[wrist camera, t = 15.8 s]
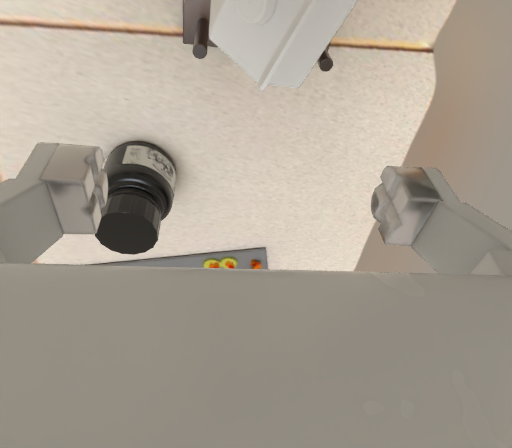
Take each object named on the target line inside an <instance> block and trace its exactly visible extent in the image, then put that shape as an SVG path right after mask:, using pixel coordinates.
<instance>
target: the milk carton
mask: <svg viewBox="0 0 512 448" xmlns="http://www.w3.org/2000/svg"><path fill="white" fill-rule="evenodd" d="M356 2H357V0H211V8H210V23H209V39H210V40H211V41H212V42H213V43H214V44H215V45H217V46H218V47H219V48H220V49H221V50H222V51H223V52H224V53H225V54H226V55H227V56H229V57H230V58H231V59H232V60H233V61H234V62H235V63H236V64H237V65H238V66H240V67H241V68H242V69H243V70H244V71H245V72H246V73H247V74H248V75H249V76H251V77H252V78H253V79H254V80H255V81H256V82H257V83H258V86H259V91H261V92H262V91H263V89H264V88H265V86H266V85H272V86H282V87H292V88H299V87H300V86H301V84H302V83H303V81H304V80H305V78H306V77H307V75H308V74H309V72H310V71H311V69H312V68H313V66H314V65H315V63H316V62H317V60H318V59H319V57H320V56H321V54H322V53H323V51H324V50H325V48H326V47H327V45H328V44H329V42H330V41H331V39H332V38H333V36H334V35H335V33H336V32H337V30H338V29H339V27H340V26H341V24H342V23H343V21H344V20H345V18H346V17H347V15H348V14H349V12H350V11H351V9H352V8H353V6H354V5H355V3H356Z"/></svg>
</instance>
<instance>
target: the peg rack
mask: <svg viewBox="0 0 512 448" xmlns="http://www.w3.org/2000/svg"><path fill="white" fill-rule="evenodd" d="M210 8H211V0H183V43H184V44H193V54H194V56H195V57H196V58H199V59H202V58H204V57H205V56H206V54H207V46H212V47H218V46H217V45H215V44H214V43H213V42H212V41H211V40H210V39H209V23H210ZM329 45H330V42H329V44H328V45H327V47H326V48H325V50H324V51H323V53H322V54H321V56H320V57H319V59H318V60H317V62H318V65H319V67H320V69H321V70H322V71H329V70H330V69H331V68H332V66H333V61H332V59H331V57H330V55H329V53H328V49H329Z"/></svg>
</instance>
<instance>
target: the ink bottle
mask: <svg viewBox="0 0 512 448" xmlns="http://www.w3.org/2000/svg"><path fill="white" fill-rule="evenodd" d="M103 170H104V171H105V172H106V173H107V179H108V196H107V201H106V205H105V206H104V207H103V208H101V209H100V212H101V216H102V217H101V221H100V224H99V227H98V230H97V233H96V234H95V237H97V239H98V240H99V241H100V243H101V244H102V245H104V246H105V247H107V248H109V249H110V250H112V251H116V252H119V253H121V254H138V253H144V252H146V251H148V250H149V249H151V248H153V247H154V245H155V243H156V242H157V241H158V235H159V229H160V223H161V222H160V221H162V220H163V219H164V218H165V217H166V216H167V215H168V214H169V212H170V210H171V208H172V203H173V197H174V191H175V183H176V169H175V166H174V164H173V162H172V161H171V159H170V158H169V157H168V156H167V155H166V154H165V153H164V152H163V151H162V150H160V149H159V148H157V147H155V146H153V145H151V144H148V143H143V142H131V143H127V144H124V145H121V146H119V147H117V148H116V149H115V150H113V151H112V152H111V154H110V155H109V157H108V159H107V161H106V164H105V167H104V169H103Z"/></svg>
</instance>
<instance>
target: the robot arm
mask: <svg viewBox="0 0 512 448" xmlns="http://www.w3.org/2000/svg"><path fill="white" fill-rule="evenodd" d="M103 162H104V158H103V153H102V150H101V148H100V147H96V146H84V145H72V144H59V143H45V142H41V143H38V144H37V145H36V146H35V148H34V149H33V151H32V153H31V154H30V156H29V158H28V159H27V161H26V163H25V164H24V166H23V167H22V169H21V171H20V172H19V174H18V176H17V177H16V179H8V180H6V181H4V182H2V183H0V448H512V231H511V230H509V229H508V228H506V227H504V226H503V225H501V224H499V223H498V222H496V221H495V220H493V219H491V218H490V217H488V216H487V215H485V214H483V213H482V212H480V211H478V210H477V209H475V208H473V207H472V206H470V205H469V204H467V203H462V202H460V200H459V199H458V197H457V196H456V194H455V193H454V191H453V190H452V188H451V187H450V186H449V184H448V182H447V181H446V179H445V178H444V176H443V175H442V173H441V172H440V171H439V170H438V169H436V168H429V167H419V168H418V167H417V168H416V167H398V166H387V167H386V168H385V169H384V170H383V172H382V174H381V176H380V177H381V180H382V184H380V185H379V186H378V187H376V188H375V190H374V193H373V195H372V199H371V211H372V214H373V217H374V218H375V219H376V220H377V221H379V222H380V223H381V224H380V226H379V228H378V229H379V231H380V234H381V236H382V239H383V241H384V243H385V245H401V246H412V249H413V250H414V251H415V252H416V253H418V254H419V255H420V256H421V257H422V258H423V259H424V260H425V261H426V262H427V263H428V264H429V265H430V266H431V267H432V268H433V269H434V270H435V271H436V272H437V273H438V274H426V273H389V272H350V271H311V270H269V269H226V268H187V267H147V266H108V265H68V264H31V263H32V262H33V261H34V260H35V259H37V258H38V257H39V256H40V255H41V254H42V253H44V252H45V251H46V250H47V249H48V248H49V247H50V246H52V245H53V244H54V243H55V242H56V241H57V240H59V239H60V238H61V237H62V236H63V234H96V233H97V230H98V227H99V224H100V221H101V217H102V216H101V212H100V209H101V208H103V207H104V206H105V205H106V201H107V196H108V179H107V173H106V172H105V171H104V170H103V169H101V167H102V165H103Z"/></svg>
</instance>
